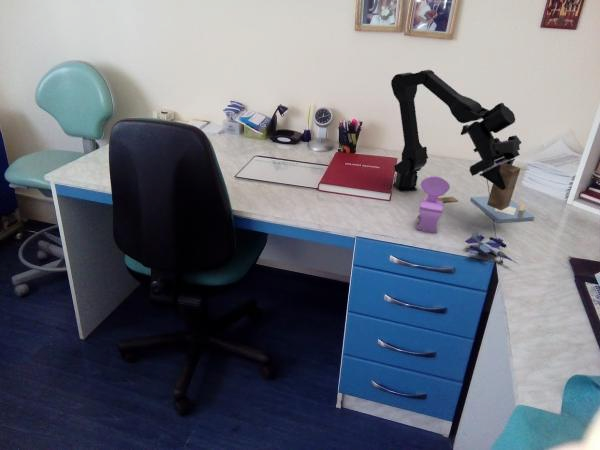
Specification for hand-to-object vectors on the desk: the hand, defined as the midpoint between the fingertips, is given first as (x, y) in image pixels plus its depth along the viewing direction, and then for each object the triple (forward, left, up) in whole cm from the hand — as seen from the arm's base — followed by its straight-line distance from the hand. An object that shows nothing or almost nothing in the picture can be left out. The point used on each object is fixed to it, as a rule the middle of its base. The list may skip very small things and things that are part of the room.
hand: (508, 187), depth 138 cm
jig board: (+9, +10, -13) cm, 19 cm away
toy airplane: (-12, -15, -14) cm, 23 cm away
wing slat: (-7, +19, -14) cm, 25 cm away
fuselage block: (-1, +1, -7) cm, 7 cm away
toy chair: (-21, +4, -14) cm, 26 cm away
